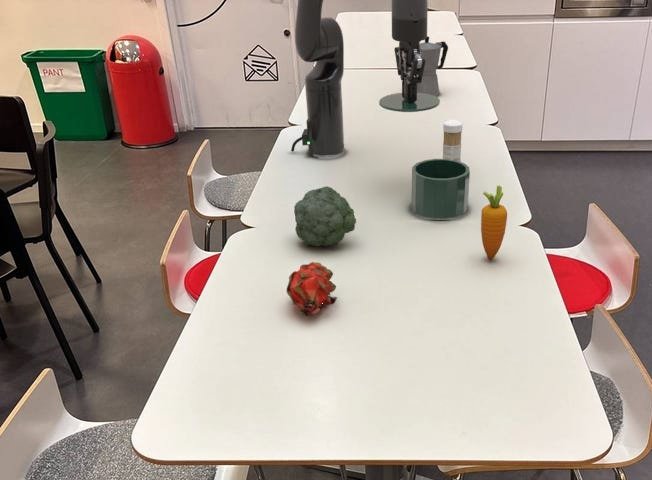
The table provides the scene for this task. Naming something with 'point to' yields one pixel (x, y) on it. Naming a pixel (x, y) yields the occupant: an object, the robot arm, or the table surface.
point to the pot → (440, 188)
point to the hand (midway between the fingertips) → (409, 99)
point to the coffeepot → (431, 66)
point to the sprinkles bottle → (452, 140)
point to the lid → (402, 105)
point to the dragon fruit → (311, 287)
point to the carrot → (493, 223)
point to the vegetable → (323, 217)
